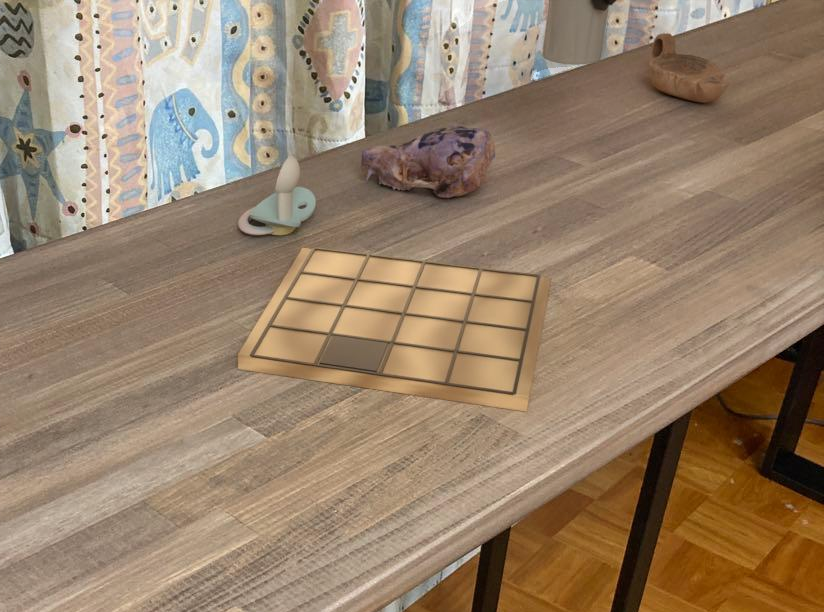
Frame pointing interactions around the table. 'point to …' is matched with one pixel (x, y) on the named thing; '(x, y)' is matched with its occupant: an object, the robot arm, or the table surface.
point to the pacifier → (281, 205)
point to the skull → (434, 161)
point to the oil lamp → (684, 73)
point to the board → (403, 327)
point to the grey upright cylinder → (574, 32)
